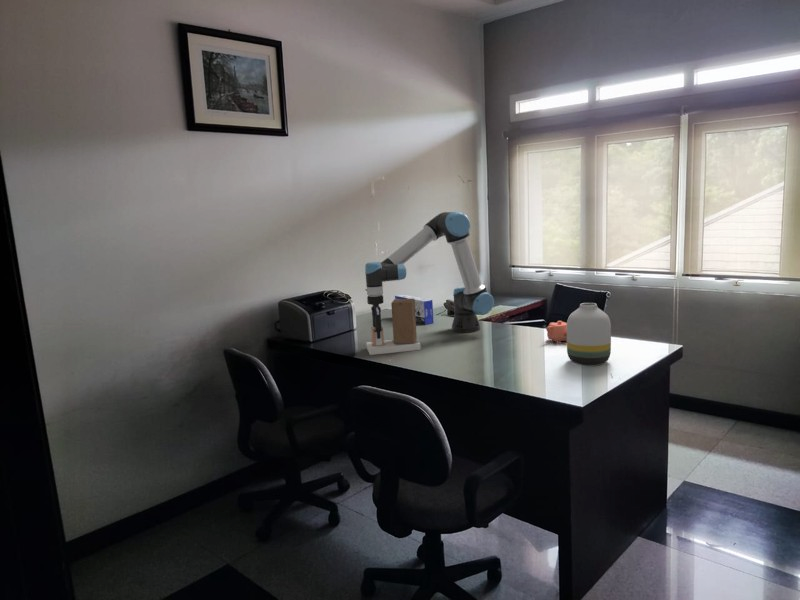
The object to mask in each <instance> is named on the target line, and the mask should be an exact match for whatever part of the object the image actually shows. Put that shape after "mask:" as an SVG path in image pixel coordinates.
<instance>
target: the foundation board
mask: <svg viewBox="0 0 800 600" xmlns="http://www.w3.org/2000/svg"><path fill="white" fill-rule="evenodd" d="M365 343H366V350H367V352H368V353H369V355H370V356H374V355H383V354H392V353H402V352H411V351H412V352H413V351H421V343H420V341H418V340H417V339H416V341H415V343H414V344H394V339H389V340H388V339H386V340H384V345H378V346H373V344H372V341H367V342H365Z"/></svg>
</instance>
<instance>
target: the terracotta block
mask: <svg viewBox="0 0 800 600" xmlns="http://www.w3.org/2000/svg"><path fill="white" fill-rule="evenodd" d="M381 328H382V331H381V337H382V345H384V341H385V339H384V327H382V325H381ZM370 329H371V331H370V332H371V342H372V344H373V346H378V345H376V335H375V332H374V331H375V330H376V329H375V327H373V326H371V327H370ZM379 329H380V328H379Z"/></svg>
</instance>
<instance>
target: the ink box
mask: <svg viewBox="0 0 800 600" xmlns="http://www.w3.org/2000/svg"><path fill="white" fill-rule="evenodd" d="M394 299H415V315H416V324H418V323H419V324H418V325H422V324H423V326H428V325H434V308H433V303H434V301H433V299H430V298H424V297H418V296H413V295H407V294H398V295H394Z"/></svg>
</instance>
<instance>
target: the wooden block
mask: <svg viewBox="0 0 800 600" xmlns="http://www.w3.org/2000/svg"><path fill="white" fill-rule="evenodd" d="M391 319H392V320H391V321H392V334H393V335H392V336H393V340H394V344H414V343H415V341H416V340H417V339H418V337H417V323H416V315H415V299H395V298H394V299H393V300H392V301H391Z"/></svg>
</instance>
